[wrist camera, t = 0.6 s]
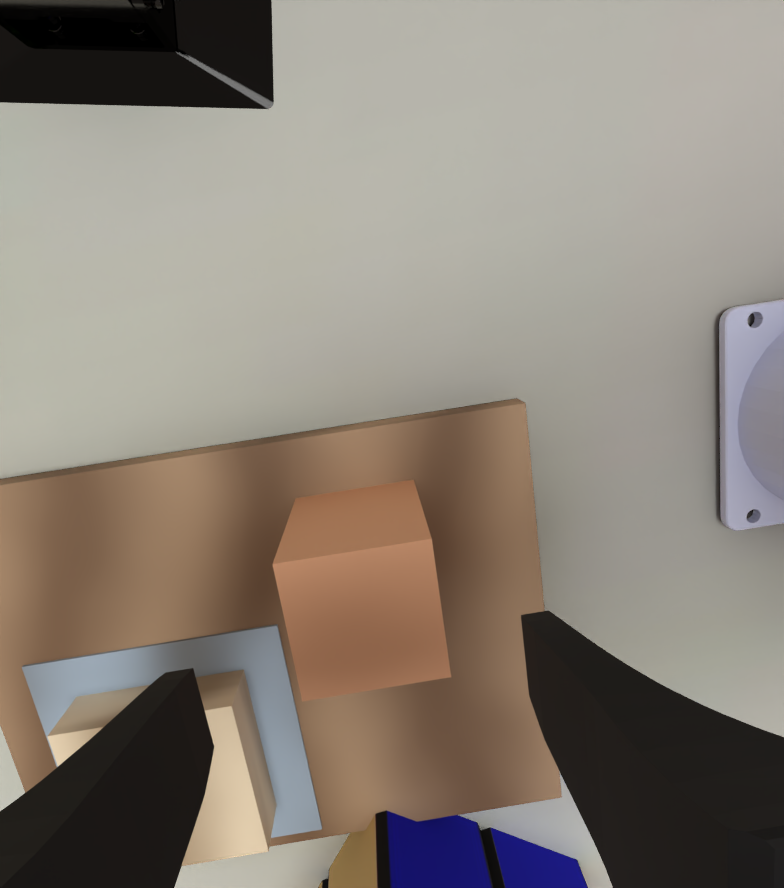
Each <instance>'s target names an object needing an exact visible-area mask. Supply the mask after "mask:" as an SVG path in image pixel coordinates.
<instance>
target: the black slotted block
mask: <svg viewBox="0 0 784 888" xmlns="http://www.w3.org/2000/svg"><path fill="white" fill-rule="evenodd" d="M0 102H10V103H50V104H91V105H131V106H171V107H212V108H252V109H269V108H271V107H272V105H273V102H274V100H273V54H272V8H271V0H0Z"/></svg>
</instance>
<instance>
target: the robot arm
mask: <svg viewBox="0 0 784 888" xmlns="http://www.w3.org/2000/svg"><path fill="white" fill-rule="evenodd" d="M751 313H753V314H754V317H755V320H754V323H753V324H752V325H751V326H749V325H748V322H747V320H748V317H749V316H750V314H751ZM719 369H720V510H721V521H722V523H723V524H724V525H725V526H727V527H728V528H730V529H732V530H738V531H739V530H746V529H752V528H758V527H764V526H770V525H777V524H783V523H784V299H781V300H775V301H768V302H762V303H756V304H749V305H743V306H736V307H732V308H729V309H727V310H726V311H725V312H724V313H723V314H722V316H721V318H720V322H719ZM750 510H753V514H752V516H751V517H750V518H746V517H747V513H748V512H749V511H750ZM521 622H522V632H523V642H524V651H525V661H526V671H527V681H528V690H529V697H530V700H531V703H532V706H533V708H534V711H535V714H536V717H537V720H538V723H539V726H540V729H541V731H542V734H543V737H544V740H545V742H546V744H547V746H548V748H549V750H550V752H551V754H552V756H553V759H554V761H555V763H556V765H557V767H558V769H559V771H560V773H561V775H562V777H563V779H564V781H565V783H566V785H567V787H568V789H569V792H570V794H571V796H572V798H573V800H574V802H575V804H576V806H577V808H578V810H579V812H580V814H581V816H582V818H583V820H584V822H585V824H586V826H587V828H588V830H589V832H590V834H591V837H592V839H593V841H594V843H595V845H596V847H597V850H598V852H599V854H600V856H601V859H602V861H603V863H604V865H605V868H606V870H607V873H608V876H609V878H610V881H611V883H612V886H613V888H784V737H781V736H778V735H776V734H773V733H770V732H767V731H764V730H762V729H759V728H756V727H754V726H751V725H749V724H746V723H744V722H741V721H739V720H736V719H734V718H731V717H729V716H726V715H724V714H721V713H719V712H717V711H714V710H712V709H710V708H708V707H705V706H703V705H701V704H699V703H697V702H695V701H693V700H691V699H689V698H687V697H685V696H683V695H681V694H679V693H676V692H674V691H672V690H670V689H669V688H667V687H665V686H663V685H661V684H659V683H657V682H656V681H654V680H652V679H650V678H649V677H647V676H645V675H644V674H642V673H640V672H638V671H637V670H635V669H633V668H632V667H630V666H628V665H627V664H625V663H623V662H622V661H620V660H619V659H617V658H616V657H614V656H612V655H611V654H609V653H608V652H606V651H605V650H603V649H602V648H600V647H599V646H597V645H596V644H595V643H593V642H592V641H590V640H589V639H587V638H586V637H585V636H583V635H582V634H580V633H579V632H577V631H576V630H575V629H573V628H572V627H571V626H569V625H568V624H566V623H565V622H564V621H562V620H561V619H560V618H558V617H557V616H555V615H554V614H553V613H551V612H550V611H542V612H536V613H530V614H524V615H521ZM213 751H214V744H213V740H212V736H211V733H210V729H209V725H208V722H207V718H206V714H205V710H204V707H203V703H202V699H201V695H200V692H199V688H198V684H197V680H196V677H195V673H194V669H193V668H190V669H184V670H178V671H172V672H165V673H164V674H163V675H162V676H160V677H159V678H158V679H157V680H155V681H154V682H153V683H152V684H151V685H150V686H148V687H147V688H146V689H145V690H144V691H143V692H142V693H141V694H139V695H138V696H137V697H136V698H135V699H134V700H133V701H132V702H131V703H130V704H129V705H127V706H126V707H125V708H124V709H123V710H122V711H121V712H120V713H119V714H118V715H116V716H115V717H114V718H113V719H112V720H111V721H110V722H109V723H108V724H107V725H105V726H104V727H103V728H102V729H101V730H100V731H99V732H98V733H97V734H95V735H94V736H93V737H92V738H91V739H90V740H89V741H88V742H86V743H85V744H84V745H83V746H82V747H80V748H79V749H78V750H77V751H76V752H75V753H73V754H72V755H71V756H70V757H69V758H67V759H66V760H65V761H64V762H63V763H62V764H60V765H59V766H58V767H57V768H56V769H54V770H53V771H52V772H51V773H50V774H49V775H47V776H46V777H45V778H44V779H43V780H41V781H40V782H39V783H37V784H36V785H35V786H34V787H32V788H31V789H30V790H29V791H27V792H26V793H25V794H23V795H22V796H21V797H19V798H18V799H17V800H15V801H14V802H13V803H11V804H10V805H9V806H7V807H6V808H5V809H3V810H2V811H0V888H174V886H175V883H176V880H177V877H178V874H179V872H180V869H181V866H182V863H183V860H184V857H185V854H186V851H187V848H188V845H189V842H190V839H191V836H192V833H193V830H194V827H195V824H196V821H197V818H198V815H199V812H200V809H201V805H202V802H203V799H204V796H205V791H206V787H207V782H208V778H209V773H210V768H211V762H212V757H213Z"/></svg>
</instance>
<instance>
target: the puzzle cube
mask: <svg viewBox="0 0 784 888" xmlns="http://www.w3.org/2000/svg"><path fill="white" fill-rule="evenodd" d="M318 888H588V887H587V884H586V882H585V879H584V877H583V874H582V872H581V869H580V866H579V864H578V861H577V860H576V859H573V858H570V857H568V856H565V855H562V854H560V853H557V852H554V851H552V850H549V849H546V848H544V847H541V846H538V845H536V844H533V843H530V842H528V841H525V840H522V839H520V838H517V837H514V836H512V835H509V834H506V833H504V832H501V831H498V830H496V829H493V828H487V829H484V830H481V831H480V829H479V826H478V823H477V822H474V821H472V820H469V819H466V818H464V817H461V816H458V815H453V816H447V817H441V818H436V819H430V820H424V821H418V822H417V821H414V820H411V819H409V818H406V817H403V816H400V815H398V814H395V813H392V812H390V811H387V810H386V811H382V812H379V813H376V814H375V815H374V817H373V819H372V820H371V822H370V824H369V825H368V827H367V829H366V830H364V831H358V832H352V833H350V834H349V836H348V838H347V840H346V841H345V843H344V845H343V846H342V848H341V850H340V852H339V853H338V855H337V857H336V858H335V860H334V862H333V863H332V865H331V867H330V869H329V879H326V880H323V881H322V882H321V884H320V886H319V887H318Z"/></svg>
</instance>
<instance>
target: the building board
mask: <svg viewBox="0 0 784 888" xmlns="http://www.w3.org/2000/svg"><path fill="white" fill-rule="evenodd" d="M408 480H414V483H415V486H416V489H417V492H418V496H419V499H420V502H421V505H422V509H423V512H424V515H425V518H426V522H427V525H428V528H429V531H430V535H431V538H432V544H433V551H434V558H435V565H436V572H437V579H438V587H439V594H440V601H441V608H442V615H443V622H444V629H445V636H446V643H447V650H448V657H449V665H450V672H451V677H449V678H443V679H437V680H431V681H425V682H419V683H413V684H406V685H400V686H394V687H388V688H382V689H376V690H370V691H364V692H358V693H352V694H346V695H339V696H333V697H327V698H321V699H315V700H309V701H303V702H302V698H301V693H300V689H299V684H298V680H297V675H296V670H295V666H294V661H293V657H292V652H291V647H290V643H289V638H288V634H287V629H286V624H285V620H284V615H283V611H282V606H281V601H280V597H279V592H278V588H277V583H276V578H275V574H274V569H273V565H272V564H273V561H274V558H275V556H276V553H277V550H278V547H279V544H280V541H281V539H282V536H283V533H284V530H285V527H286V524H287V522H288V519H289V516H290V513H291V510H292V507H293V504H294V502H295V499H296V498H301V497H307V496H313V495H320V494H326V493H332V492H339V491H345V490H351V489H358V488H364V487H370V486H377V485H383V484H389V483H396V482H402V481H408ZM542 611H544V600H543V589H542V578H541V568H540V557H539V546H538V535H537V524H536V513H535V502H534V491H533V480H532V470H531V459H530V448H529V437H528V426H527V415H526V404H525V403H524V402H522V401H521V400H519V399H511V400H504V401H498V402H491V403H485V404H479V405H472V406H466V407H459V408H453V409H447V410H440V411H434V412H427V413H421V414H415V415H408V416H402V417H395V418H389V419H383V420H376V421H370V422H363V423H357V424H351V425H344V426H338V427H331V428H325V429H319V430H312V431H306V432H299V433H293V434H286V435H280V436H274V437H267V438H261V439H254V440H248V441H242V442H235V443H229V444H222V445H216V446H210V447H203V448H197V449H190V450H184V451H178V452H171V453H165V454H158V455H152V456H146V457H139V458H133V459H126V460H120V461H114V462H107V463H101V464H94V465H88V466H82V467H75V468H69V469H62V470H56V471H49V472H43V473H37V474H30V475H24V476H17V477H11V478H5V479H0V726H1V728H2V731H3V734H4V736H5V739H6V742H7V744H8V747H9V750H10V752H11V755H12V758H13V760H14V763H15V766H16V768H17V771H18V774H19V776H20V779H21V782H22V785H23V787H24V790H25V793H26V792H27V791H29V790H30V789H31V788H32V787H34V786H35V785H36V784H37V783H39V782H40V781H41V780H43V779H44V778H45V777H46V776H47V775H49V774H50V773H51V772H52V771H53V770H54V769H56V768H57V767H58V766H59V765H60V764H62V763H63V762H64V761H65V760H66V759H67V758H69V757H70V756H71V755H72V754H73V753H75V752H76V751H77V750H78V749H79V748H80V747H82V746H83V745H84V744H85V743H86V742H88V741H89V740H90V739H91V738H92V737H93V736H94V735H95V734H97V733H98V732H99V731H100V730H101V729H102V728H103V727H104V726H105V725H107V724H108V723H109V722H110V721H111V720H112V719H113V718H114V717H115V716H116V715H118V714H119V713H120V712H121V711H122V710H123V709H124V708H125V707H126V706H127V705H129V704H130V703H131V702H132V701H133V700H134V699H135V698H136V697H137V696H138V695H139V694H141V693H142V692H143V691H144V690H145V689H146V688H147V687H148V686H150V685H151V684H152V683H153V682H154V681H155V680H157V679H158V678H159V677H160V676H162V675H163V674H164V673H165V672H172V671H178V670H184V669H190V668H193V669H194V673H195V677H196V680H197V684H198V688H199V692H200V695H201V699H202V703H203V707H204V710H205V714H206V718H207V722H208V725H209V729H210V733H211V736H212V740H213V744H214V751H213V757H212V762H211V768H210V773H209V778H208V782H207V787H206V791H205V796H204V799H203V802H202V805H201V809H200V812H199V815H198V818H197V821H196V824H195V827H194V830H193V833H192V836H191V839H190V842H189V845H188V848H187V851H186V854H185V857H184V860H183V863H182V866H185V865H191V864H197V863H203V862H209V861H215V860H221V859H227V858H232V857H238V856H244V855H250V854H256V853H262V852H268V851H269V846H275V845H281V844H287V843H293V842H299V841H305V840H311V839H317V838H323V837H329V836H335V835H340V834H346V833H352V832H358V831H364V830H366V829H367V827H368V825H369V824H370V822H371V820H372V819H373V817H374V815H375V814H376V813H379V812H382V811H386V810H387V811H390V812H392V813H395V814H398V815H400V816H403V817H406V818H409V819H411V820H414V821H417V822H418V821H424V820H430V819H436V818H441V817H447V816H453V815H459V814H465V813H471V812H477V811H483V810H489V809H495V808H501V807H507V806H513V805H519V804H525V803H531V802H537V801H543V800H548V799H554V798H560V797H562V796H561V785H560V774H559V769H558V767H557V765H556V763H555V761H554V759H553V756H552V754H551V752H550V750H549V748H548V746H547V744H546V742H545V740H544V737H543V734H542V731H541V729H540V726H539V723H538V720H537V717H536V714H535V711H534V708H533V706H532V703H531V700H530V697H529V690H528V681H527V671H526V661H525V651H524V642H523V632H522V622H521V615H524V614H530V613H536V612H542Z"/></svg>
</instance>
